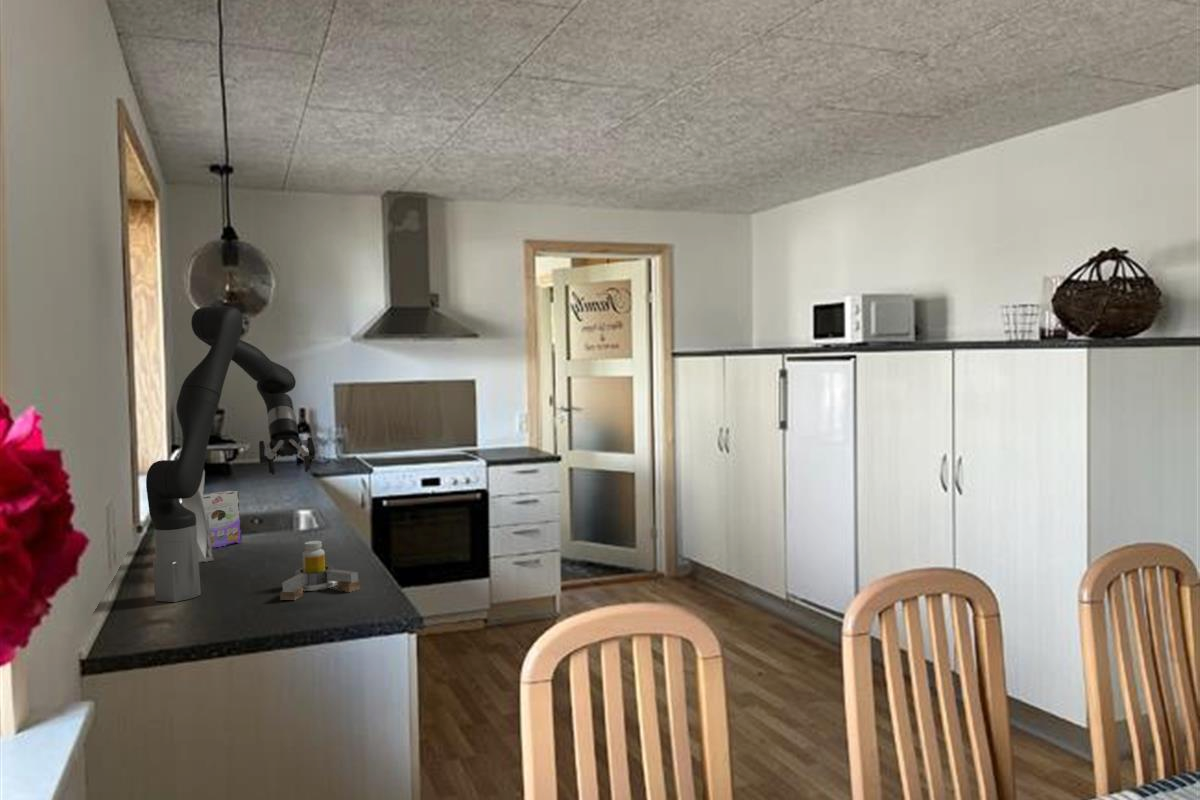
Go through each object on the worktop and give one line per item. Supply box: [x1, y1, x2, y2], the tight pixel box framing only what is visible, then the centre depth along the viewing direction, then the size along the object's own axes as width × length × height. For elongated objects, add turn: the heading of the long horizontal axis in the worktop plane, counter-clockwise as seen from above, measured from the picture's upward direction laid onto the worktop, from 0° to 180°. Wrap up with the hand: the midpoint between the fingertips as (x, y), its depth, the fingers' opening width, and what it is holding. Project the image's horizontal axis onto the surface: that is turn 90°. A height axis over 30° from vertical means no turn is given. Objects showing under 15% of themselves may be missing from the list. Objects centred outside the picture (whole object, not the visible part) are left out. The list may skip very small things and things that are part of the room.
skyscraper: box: [181, 469, 214, 564], centre depth 250 cm, size 8×8×28 cm
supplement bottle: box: [301, 540, 326, 573], centre depth 219 cm, size 5×5×10 cm
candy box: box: [203, 490, 243, 549], centre depth 271 cm, size 14×6×16 cm, turn 141°
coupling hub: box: [294, 564, 338, 593], centre depth 219 cm, size 12×12×4 cm
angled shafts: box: [281, 568, 359, 592], centre depth 210 cm, size 14×14×2 cm
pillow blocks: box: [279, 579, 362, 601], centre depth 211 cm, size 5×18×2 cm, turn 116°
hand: (290, 471), depth 235 cm, fingers open, 8 cm apart
